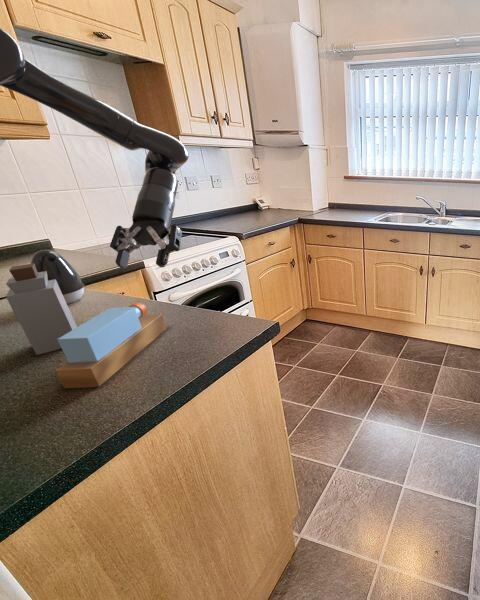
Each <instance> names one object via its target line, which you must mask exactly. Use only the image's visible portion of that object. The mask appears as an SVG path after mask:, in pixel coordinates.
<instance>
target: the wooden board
mask: <svg viewBox="0 0 480 600" xmlns="http://www.w3.org/2000/svg"><path fill="white" fill-rule="evenodd" d="M138 319H139V321H140V324H141V327H142V328H141V329H139V330H138V331H137V332H135V333H134V334H133V335H131V336H130V337H129V338H128V339H126V340H125V341H124V342H122V343H121V344H120V345H118V346H117V347H116V348H114V349H113V350H112V351H110V352H109V353H108V354H107V355H105V356H104V357H103V358H101V359H100V360H99V361H96V362H74V363H69V362H68V361H66V362H65V363H64V364H62V365H61V366H59V367H58V368H56V369H55V373H56V375H57V376H58V379H59V381H60V383H61V385H62V386H63V388H64V389H81V388H100V387H102V385H103V384H105V382H107V381H108V380H109V379H110V378H111V377H112V376H114V375H115V374H116V373H117V372H118V371H119V370H120V369H122V368H123V367H124V366H125V365H126V364H128V363H130V361H131V360H132V359H133V358H135V357H136V356H137V355H138V354H139V353H140V352H141V351H143V350H144V349H145V348H146V347H148V345H150V344H151V343H152V342H153V341H154V340H155V339H157V338H158V337H159V336H160V335H161V334H163V333H164V332H165V331H166V330H167V329H168V328H167V326H166V323H165V319H164V316H163V314H161V313H160V314H159V313H154V314H152V313H151V314H145V315H143V316H142V317H140V318H138Z"/></svg>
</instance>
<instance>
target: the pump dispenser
mask: <svg viewBox="0 0 480 600" xmlns="http://www.w3.org/2000/svg"><path fill="white" fill-rule="evenodd" d="M33 263H34V264H35V267H36V270H37V272H44V271H47V278H48V281H49V280H55V279H56V281H57V284H58V286H59V288H60V290H61V292H62V295H63V297H64V299H65V301H66V304H67V305H69V304H72V303H75V302H77V301H78V300H80V299H81V298H82V297H83V296H84V293H85V283H84V280H83V278H81V276H80V275H79V273H78V272H77V271H76V269H75V267H73V265H71V263H70V262H69V261H68V260H67V259H66V258H65V257H63V256H62V255H61V254H59V253H58V252H56V251H54V250H52V249H41V250H38V251H36V252H35V253H34V254H33V255H32V257H31V260H30V264H33Z"/></svg>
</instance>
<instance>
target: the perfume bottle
mask: <svg viewBox="0 0 480 600" xmlns="http://www.w3.org/2000/svg"><path fill="white" fill-rule="evenodd" d="M8 271H9V273H10V274H11V276H10V277H9V278H8V280H7V281H6V283H5V285H6V286H7V287H8V288H9V290H8V292H7V293H6V295H5V299H6V300H7V302H8V304H9V306H10V308H11V309H12V311H13V313H14V315H15V317H16V319H17V321H18V323H19V325H20V327H21V329H22V330H23V332H24V334H25V336H26V338H27V340H28V342H29V344H30V345H31V347H32V349H33V351H34V353H35V355H36V356H38V355H42V354H46V353H51V352H54V351H58V350H62V348H61V346H60V344H59V342H58V340H57V339H58V338H60V337H62V336H63V335H65V334H67V333H68V332H70V331H72V330H73V329H75V328H77V327H78V325H77V323H76V322H75V319H74V317H73V315H72V312H71V310H70V308H69V305H68V304H66V301H65V299H64V297H63V295H62V292H61V290H60V288H59V286H58V284H57V281H56V279H55V280H49V281H48V278H47V271H44V272H37V270H36V267H35V264H34V263H33V264H31V263H29V264H28V263H27V264H21V265H13V266H11V267H10V269H9V270H8Z"/></svg>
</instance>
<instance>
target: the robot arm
mask: <svg viewBox="0 0 480 600" xmlns="http://www.w3.org/2000/svg"><path fill="white" fill-rule="evenodd" d="M0 87H3V88H5V89H8V90H10V91H13V92H15V93H17V94H19V95H22V96H24V97H27V98H29V99H31V100H33V101H35V102H37V103H40V104H42V105H44V106H45V107H48V108H50V109H52V110H55V111H56V112H58V113H59V114H62V115H63V116H66V117H68V118H69V119H71V120H73V121H75V122H77V123H78V124H80V125H82V126H84V127H85V128H87V129H88V130H90V131H92V132H94V133H96V134H98V135H99V136H102V137H104V138H105V139H107V140H109V141H111V142H113V143H114V144H116V145H119V146H120V147H122V148H124V149H127V150H129V151H137V150H140V149H141V150H142V149H143V150H147V154H146V156H145V160H144V161H145V162H144V163H145V164H144V172H145V175H144V177H143V181H142V184H141V188H140V190H139V192H138V194H137V197H136V201H135V206H134V209H133V212H132V216H131V218H132V224H131V226H130V227H123V226H122V225H117V226H116V228H115V229H114V233H113V236H112V238H111V241H110V243H109V247H110V248H111V249H113V251H116V252H117V254H116V258H115V264H116V266H117V267H119V268H120V269H127V267H128V263H129V260H130V257H131V255H130V254H132V252H133V251H134V250H138V249H140V248H141V247H142V246H143V247H144V246H145V247H146V246H156V245H157V246H159V248H160V249H158V251H157V255H156V259H155V265H156V266H158V267H159V268H165V267H166V266H167V265H168V262H169V257H170V254H171V253H172V252H179V251H180V249H181V243H182V235H183V230H181V228H180V227H179V226H178V225H176V224H172V220H173V215H174V210H175V206H176V197H177V190H178V187H179V186H178V185H179V181H178V178H177V176H176V175H175V174H176V172H177V171H178V170H179V169H180V168H181V167H182V166H183V165H185V164H186V163H187V162H188V160H189V151H188V149H187V148H186V146H185V145H184V144H183V143H182V142H181V141H180V140H179V139H177V138H176V137H174V136H173V135H171V134H168V133H166V132H163V131H160V130H158V129H155V128H153V127H150V126H147V125H144V124H141V123H139V122H137V121H136V120H135V119H133V118H131V117H129V116H128V115H126V114H124V113H123V112H121V111H120V110H118V109H116V108H114V107H113V106H111V105H109V104H107V103H106V102H104V101H101V100H99V99H97V98H95V97H94V96H91V95H89V94H87V93H84V92H82V91H80V90H78V89H76V88H74V87H72V86H70V85H68V84H66V83H64V82H63V81H61V80H59V79H57V78H55V77H54V76H52V75H50V74H49V73H48V72H46V71H44V70H43V69H41V68H40V67H39V66H37V65H35V64H34V63H33V62H31V61H29V59H27V58H26V57H25V55H24V53H23V50H22V49H21V47H20V45H19V44H18V42H17V41H16V40H15V39H14V38H13V36H12V35H10V34H9V33H8V32H7V31H5V30H4V29H3V28H1V27H0ZM167 236H169V239H168V243H167V241H166V240H165V238H166V237H167ZM133 240H134V241H135V242H133Z"/></svg>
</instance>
